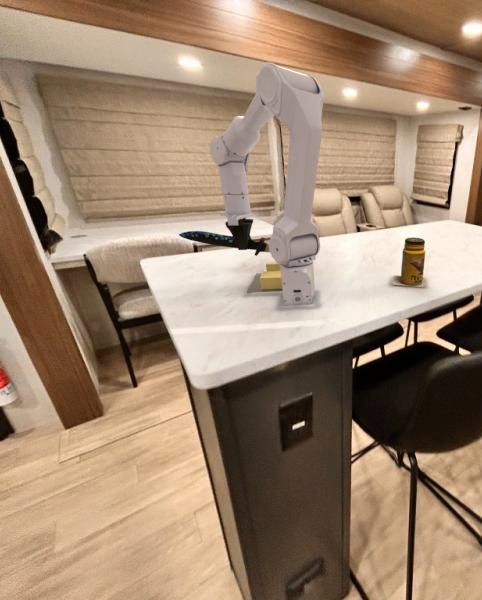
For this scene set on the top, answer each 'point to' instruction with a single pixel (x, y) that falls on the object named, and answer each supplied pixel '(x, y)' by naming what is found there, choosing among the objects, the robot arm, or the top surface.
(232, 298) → the top surface
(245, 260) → the top surface
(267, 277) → the yellow rectangular block
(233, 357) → the top surface
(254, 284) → the butter dish
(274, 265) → the butter pat
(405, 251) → the condiment
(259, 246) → the knife
